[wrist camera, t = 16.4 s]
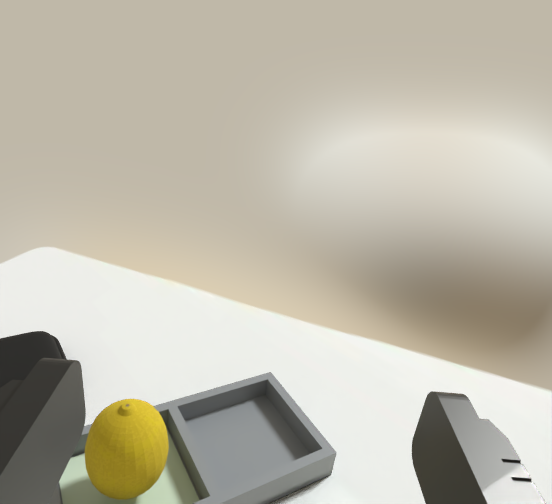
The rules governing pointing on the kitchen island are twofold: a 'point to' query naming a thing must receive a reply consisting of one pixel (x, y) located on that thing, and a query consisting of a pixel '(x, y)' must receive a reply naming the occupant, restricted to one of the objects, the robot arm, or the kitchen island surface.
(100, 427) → the lemon
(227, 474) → the organiser tray
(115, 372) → the kitchen island surface
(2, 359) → the carrying case or bag
